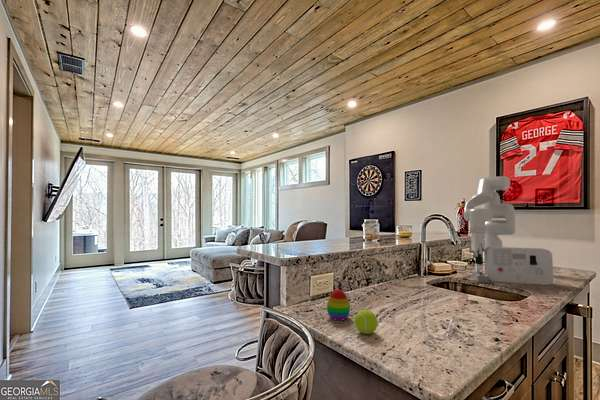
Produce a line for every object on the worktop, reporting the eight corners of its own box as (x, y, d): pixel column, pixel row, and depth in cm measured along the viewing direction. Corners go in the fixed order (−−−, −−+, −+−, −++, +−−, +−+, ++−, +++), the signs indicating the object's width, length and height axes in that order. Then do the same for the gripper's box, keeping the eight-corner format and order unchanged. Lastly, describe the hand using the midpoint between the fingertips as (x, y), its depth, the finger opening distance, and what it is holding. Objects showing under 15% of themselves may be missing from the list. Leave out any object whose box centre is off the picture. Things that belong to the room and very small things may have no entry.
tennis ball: (365, 326, 94) (365, 305, 95) (382, 334, 88) (381, 311, 89) (350, 331, 91) (349, 309, 91) (366, 339, 85) (365, 316, 85)
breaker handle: (474, 273, 163) (474, 257, 164) (479, 273, 162) (479, 258, 163) (476, 274, 161) (475, 258, 161) (480, 274, 160) (480, 258, 160)
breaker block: (471, 276, 165) (471, 270, 165) (481, 276, 164) (481, 270, 164) (477, 282, 151) (477, 275, 151) (488, 283, 150) (488, 276, 150)
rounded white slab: (488, 282, 152) (487, 248, 153) (485, 279, 159) (484, 246, 160) (556, 286, 142) (554, 250, 142) (548, 283, 149) (547, 248, 150)
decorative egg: (322, 318, 102) (322, 290, 103) (335, 312, 108) (334, 285, 109) (342, 323, 97) (341, 294, 97) (354, 317, 103) (353, 289, 104)
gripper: (467, 229, 168) (468, 261, 167) (473, 231, 153) (474, 265, 153) (482, 230, 165) (483, 262, 164) (489, 231, 151) (490, 266, 150)
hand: (479, 263), depth 158 cm, fingers closed
